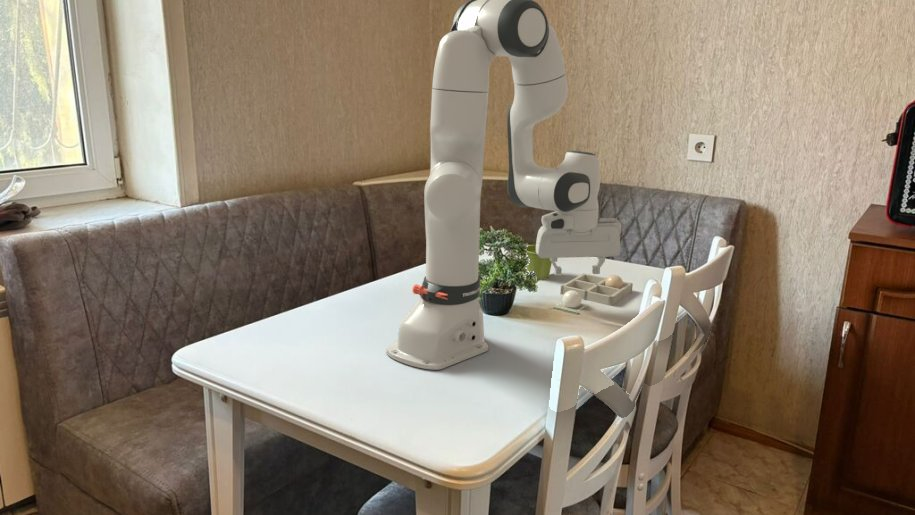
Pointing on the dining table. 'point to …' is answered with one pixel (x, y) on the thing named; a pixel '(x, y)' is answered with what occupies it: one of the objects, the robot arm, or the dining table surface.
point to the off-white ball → (571, 299)
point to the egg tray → (596, 289)
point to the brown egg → (614, 282)
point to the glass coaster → (569, 309)
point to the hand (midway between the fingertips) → (576, 273)
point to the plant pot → (538, 263)
